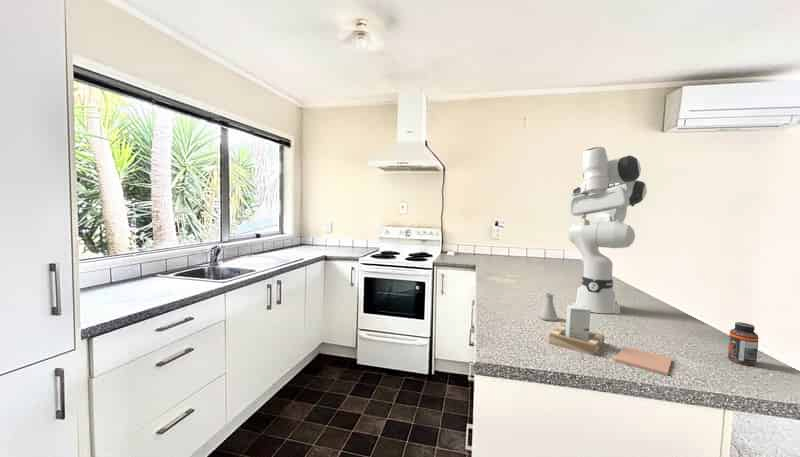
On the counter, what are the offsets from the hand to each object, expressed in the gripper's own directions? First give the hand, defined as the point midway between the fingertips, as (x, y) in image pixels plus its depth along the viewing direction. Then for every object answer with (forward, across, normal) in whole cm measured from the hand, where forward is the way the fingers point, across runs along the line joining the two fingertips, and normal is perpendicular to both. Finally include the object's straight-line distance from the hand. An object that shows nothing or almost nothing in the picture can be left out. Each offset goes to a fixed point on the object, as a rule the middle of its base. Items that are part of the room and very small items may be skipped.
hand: (599, 223), depth 126 cm
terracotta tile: (+45, -15, +11) cm, 49 cm away
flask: (+36, +22, 0) cm, 42 cm away
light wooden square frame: (+42, +3, +16) cm, 45 cm away
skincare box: (+43, +3, +16) cm, 46 cm away
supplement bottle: (+45, -30, -14) cm, 56 cm away
